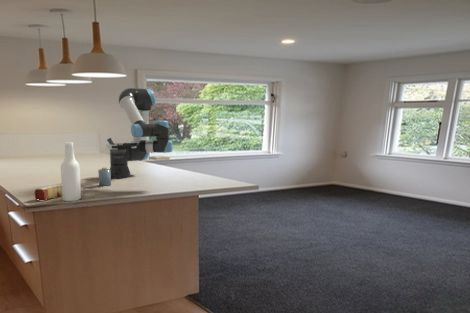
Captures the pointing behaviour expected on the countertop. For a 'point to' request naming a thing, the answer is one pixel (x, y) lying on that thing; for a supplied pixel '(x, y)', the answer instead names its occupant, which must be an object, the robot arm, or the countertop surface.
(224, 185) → the countertop surface
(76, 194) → the alcohol
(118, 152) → the mortar and pestle
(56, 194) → the snack package
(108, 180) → the glazed jar
